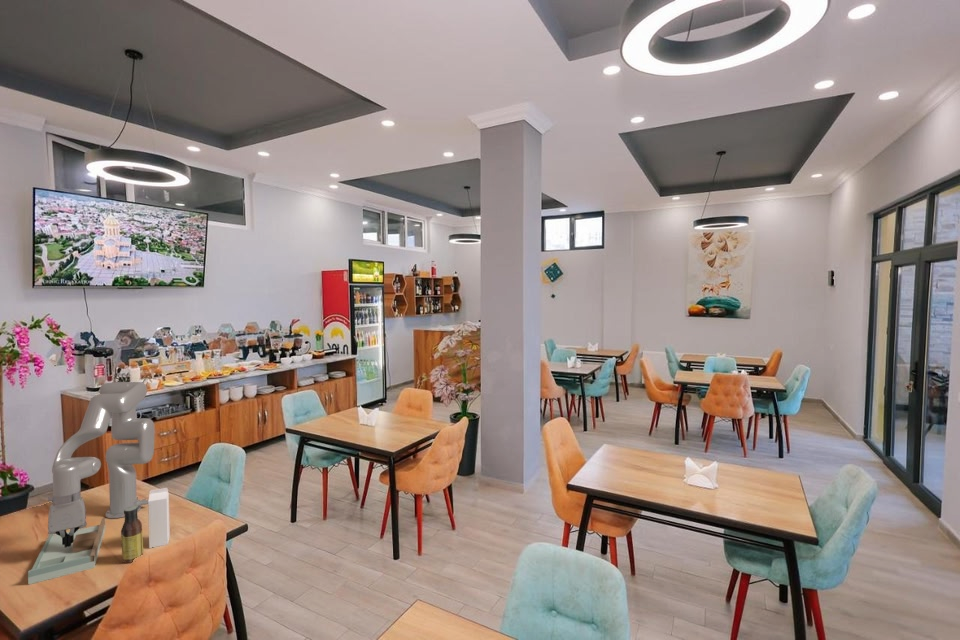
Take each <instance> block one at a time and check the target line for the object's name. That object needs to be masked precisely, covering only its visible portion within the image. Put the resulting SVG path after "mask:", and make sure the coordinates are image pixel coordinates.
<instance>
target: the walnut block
mask: <svg viewBox="0 0 960 640" xmlns="http://www.w3.org/2000/svg"><path fill="white" fill-rule="evenodd" d="M96 536H97V531H95V532H90V533H84V534H78V535H76V537H75V539H74V541H73V553H74V552H79V551H84V550H89V549H93V545H94V542H95V539H96Z"/></svg>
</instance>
